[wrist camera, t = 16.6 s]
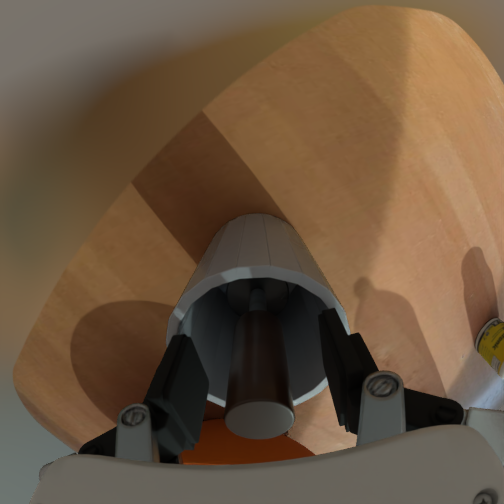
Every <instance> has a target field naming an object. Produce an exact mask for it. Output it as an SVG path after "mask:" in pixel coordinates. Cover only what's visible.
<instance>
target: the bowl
mask: <svg viewBox="0 0 504 504" xmlns="http://www.w3.org/2000/svg"><path fill="white" fill-rule="evenodd" d="M181 454H182V459H183V464H184V465H237V464H253V463H265V462H274V461H283V460H290V459H297V458H303V457H309V456H315V454H314V453H312V452H311V451H310V450H308V449H307V448H306V447H304V446H303V445H301V444H299V443H298V442H296V441H294V440H293V439H291V438H289V437H287V436H285V435H283V434H281V435H279V436H277V437H273V438H269V439H249V438H244V437H241V436H239V435H236V434H235V433H233V432H232V431H230V430H229V429H228V428H227V426H226V424H225V422H224V419H213V420H207V421H203V422H202V428H201V433H200V438H199V442H198V443H195V447H194V450H184V451H183V452H181Z"/></svg>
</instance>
